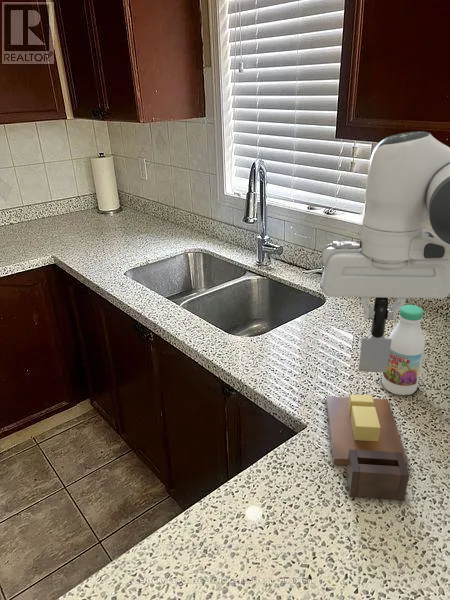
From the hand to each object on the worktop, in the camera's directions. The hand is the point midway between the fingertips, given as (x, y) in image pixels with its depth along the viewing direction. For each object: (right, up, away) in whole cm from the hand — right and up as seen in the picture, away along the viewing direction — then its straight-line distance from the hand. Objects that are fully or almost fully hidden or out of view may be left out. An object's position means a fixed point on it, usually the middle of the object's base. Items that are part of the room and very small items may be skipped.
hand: (379, 318), depth 77 cm
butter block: (+1, -23, +12) cm, 26 cm away
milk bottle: (+14, -17, +26) cm, 34 cm away
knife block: (-1, -30, +1) cm, 30 cm away
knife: (0, -10, +5) cm, 11 cm away
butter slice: (+2, -20, +17) cm, 26 cm away
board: (+1, -23, +13) cm, 27 cm away
